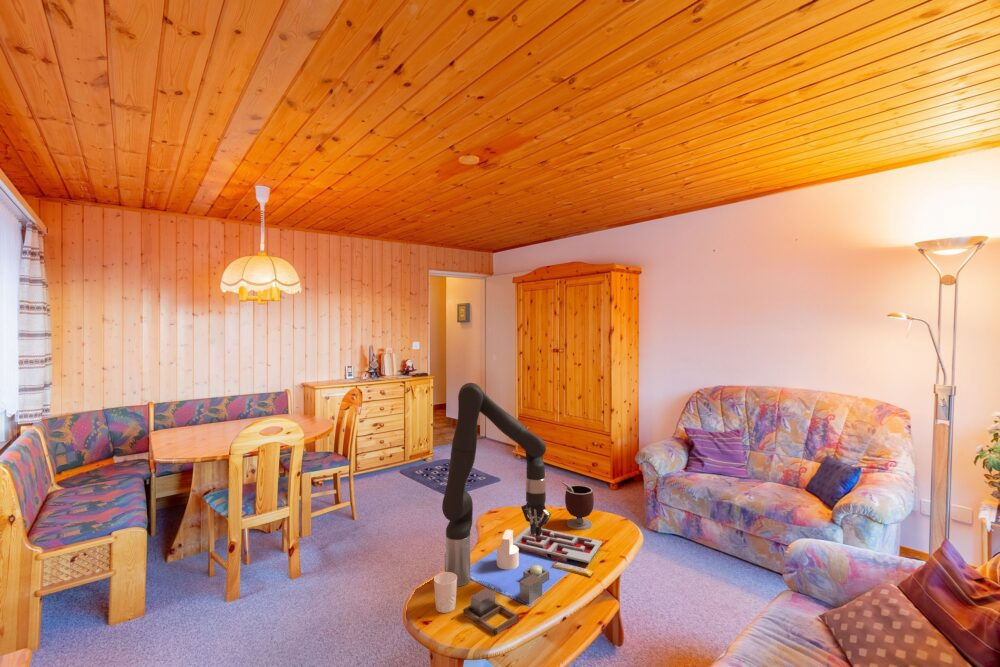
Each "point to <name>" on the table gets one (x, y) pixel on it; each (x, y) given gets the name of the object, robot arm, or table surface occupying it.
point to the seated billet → (482, 602)
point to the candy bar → (573, 569)
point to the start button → (536, 570)
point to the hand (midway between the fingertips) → (536, 534)
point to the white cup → (445, 591)
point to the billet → (530, 588)
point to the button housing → (543, 576)
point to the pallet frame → (483, 619)
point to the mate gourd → (579, 505)
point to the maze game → (557, 545)
